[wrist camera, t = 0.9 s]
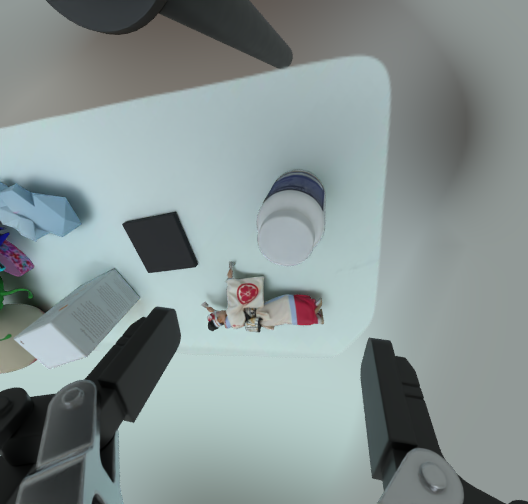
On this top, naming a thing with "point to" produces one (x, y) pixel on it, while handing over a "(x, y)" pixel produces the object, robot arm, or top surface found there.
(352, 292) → the top surface
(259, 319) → the figurine
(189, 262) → the pad
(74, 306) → the small box
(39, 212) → the polygonal blue rock
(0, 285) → the figurine
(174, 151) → the top surface
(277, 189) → the pill bottle
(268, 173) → the top surface
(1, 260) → the headband
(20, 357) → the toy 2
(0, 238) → the figurine
